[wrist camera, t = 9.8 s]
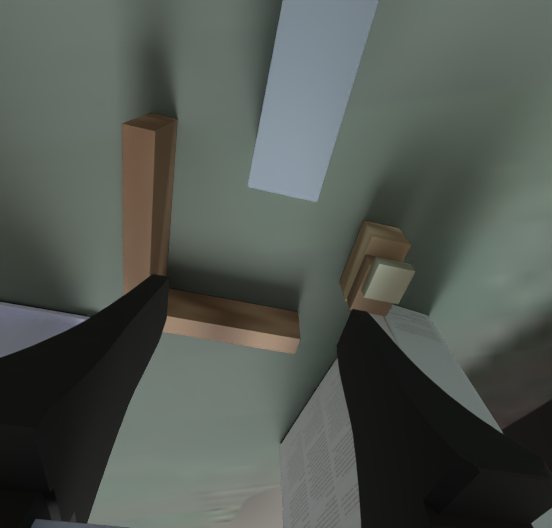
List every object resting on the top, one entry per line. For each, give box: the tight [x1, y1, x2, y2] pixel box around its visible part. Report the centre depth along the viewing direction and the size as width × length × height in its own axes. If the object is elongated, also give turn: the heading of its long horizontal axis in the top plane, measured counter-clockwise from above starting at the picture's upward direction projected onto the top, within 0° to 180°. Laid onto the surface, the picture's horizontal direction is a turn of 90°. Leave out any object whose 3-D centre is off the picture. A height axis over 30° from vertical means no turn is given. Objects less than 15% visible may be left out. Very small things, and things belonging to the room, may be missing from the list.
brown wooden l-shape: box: [122, 113, 300, 354], centre depth 21 cm, size 12×14×4 cm
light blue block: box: [248, 0, 379, 202], centre depth 15 cm, size 3×9×7 cm, turn 167°
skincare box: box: [279, 305, 552, 528], centre depth 24 cm, size 21×5×16 cm, turn 160°
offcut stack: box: [340, 221, 416, 316], centre depth 22 cm, size 2×5×4 cm, turn 167°
